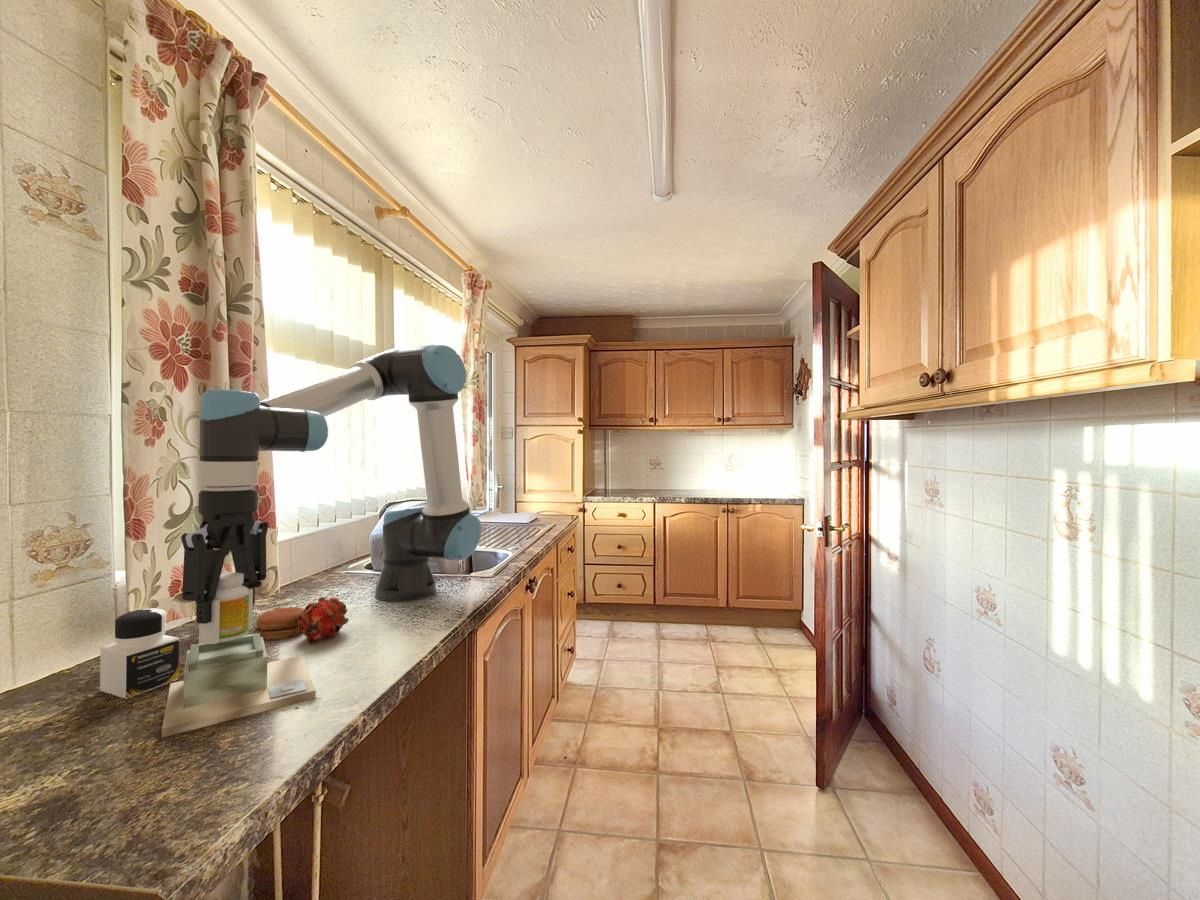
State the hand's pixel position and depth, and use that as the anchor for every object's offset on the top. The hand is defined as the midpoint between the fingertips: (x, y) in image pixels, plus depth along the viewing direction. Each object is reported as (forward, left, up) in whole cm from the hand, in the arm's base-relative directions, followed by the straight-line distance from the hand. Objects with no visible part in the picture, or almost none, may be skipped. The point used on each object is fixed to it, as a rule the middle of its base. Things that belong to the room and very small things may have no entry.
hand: (226, 634), depth 78 cm
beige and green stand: (-2, +2, -9) cm, 10 cm away
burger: (-10, -26, -10) cm, 29 cm away
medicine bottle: (+11, -11, -9) cm, 18 cm away
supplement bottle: (0, 0, -1) cm, 1 cm away
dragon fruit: (-16, -17, -10) cm, 25 cm away
